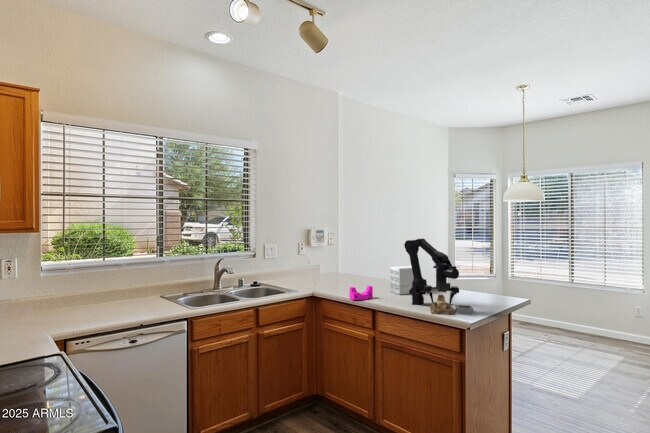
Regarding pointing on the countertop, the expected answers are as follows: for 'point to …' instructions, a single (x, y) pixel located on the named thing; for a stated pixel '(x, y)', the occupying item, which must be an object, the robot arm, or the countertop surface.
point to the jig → (441, 311)
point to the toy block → (360, 296)
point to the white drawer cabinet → (401, 279)
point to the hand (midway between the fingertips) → (441, 304)
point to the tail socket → (464, 309)
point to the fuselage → (441, 302)
